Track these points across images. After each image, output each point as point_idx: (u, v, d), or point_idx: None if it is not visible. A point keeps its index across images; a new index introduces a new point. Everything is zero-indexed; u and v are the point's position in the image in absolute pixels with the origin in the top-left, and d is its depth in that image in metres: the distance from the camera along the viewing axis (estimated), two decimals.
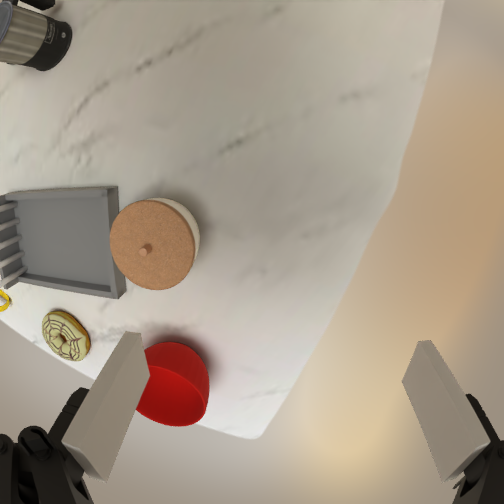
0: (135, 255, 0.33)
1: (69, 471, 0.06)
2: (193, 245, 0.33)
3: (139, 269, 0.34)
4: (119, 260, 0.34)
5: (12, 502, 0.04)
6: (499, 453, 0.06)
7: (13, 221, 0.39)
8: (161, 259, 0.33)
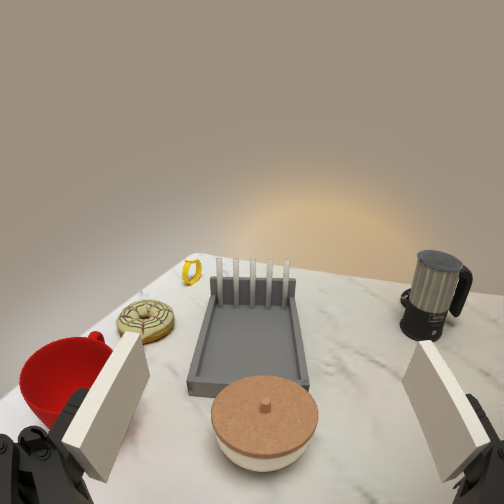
0: (255, 397, 0.28)
1: (69, 471, 0.06)
2: (270, 455, 0.22)
3: (238, 398, 0.28)
4: (248, 381, 0.31)
5: (12, 502, 0.04)
6: (499, 453, 0.06)
7: (269, 301, 0.56)
8: (252, 421, 0.25)
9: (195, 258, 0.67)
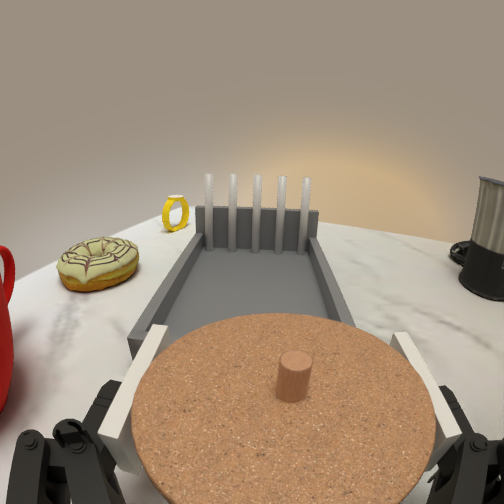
0: (261, 358, 0.11)
1: (103, 463, 0.07)
2: None
3: (215, 361, 0.11)
4: (244, 323, 0.13)
5: (38, 500, 0.04)
6: (471, 447, 0.06)
7: (281, 241, 0.39)
8: (251, 427, 0.08)
9: (181, 196, 0.50)
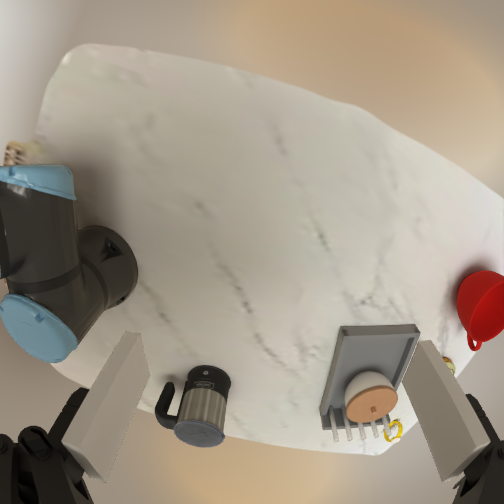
0: None
1: (69, 471, 0.06)
2: (377, 388, 0.48)
3: (383, 410, 0.50)
4: (375, 418, 0.51)
5: (12, 502, 0.04)
6: (499, 453, 0.06)
7: (343, 409, 0.58)
8: (380, 402, 0.49)
9: (392, 441, 0.59)
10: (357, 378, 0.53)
